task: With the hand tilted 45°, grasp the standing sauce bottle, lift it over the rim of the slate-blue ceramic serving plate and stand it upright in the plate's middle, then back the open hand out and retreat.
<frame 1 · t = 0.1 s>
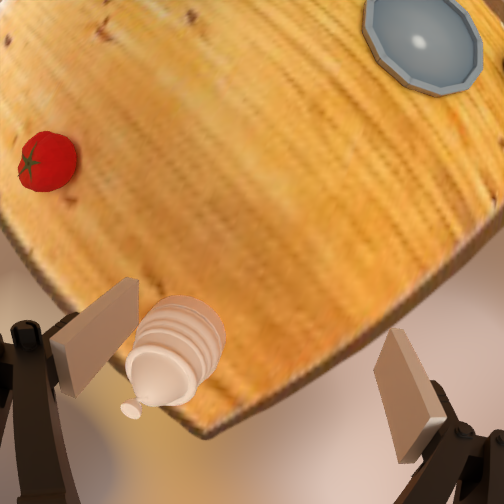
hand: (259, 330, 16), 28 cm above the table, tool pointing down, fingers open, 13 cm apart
honey pot: (186, 331, 49), on the table
serving plate: (424, 36, 32), on the table
tomato: (62, 161, 44), on the table
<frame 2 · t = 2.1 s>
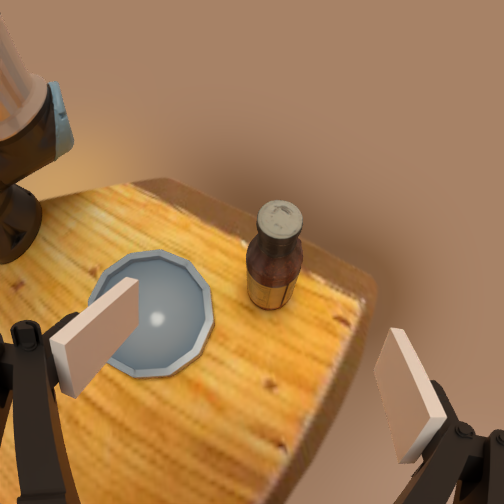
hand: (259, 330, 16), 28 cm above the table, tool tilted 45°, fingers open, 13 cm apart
sauce bottle: (268, 292, 46), on the table
serving plate: (150, 314, 44), on the table
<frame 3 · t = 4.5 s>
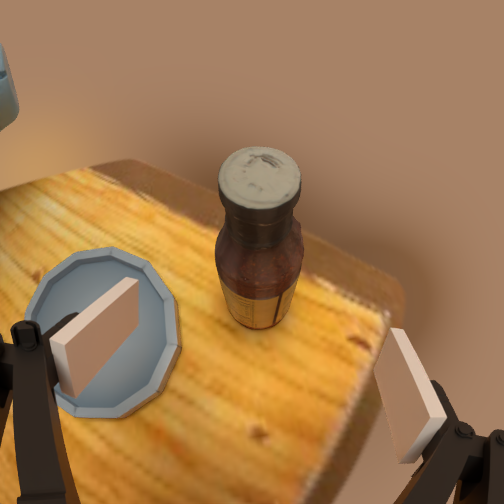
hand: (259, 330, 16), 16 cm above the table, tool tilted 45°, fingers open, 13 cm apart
sauce bottle: (256, 304, 33), on the table
serving plate: (98, 333, 31), on the table
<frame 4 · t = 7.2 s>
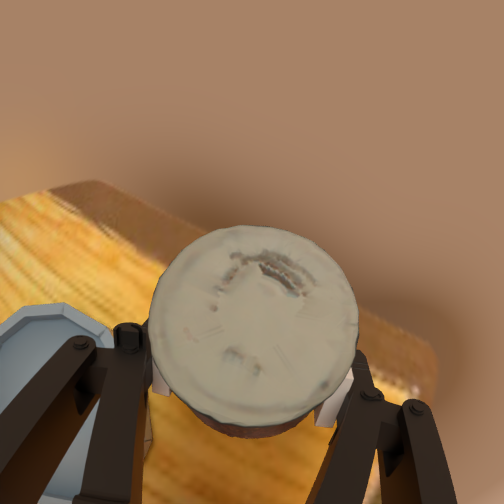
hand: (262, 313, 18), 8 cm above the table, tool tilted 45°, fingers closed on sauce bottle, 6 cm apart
sauce bottle: (248, 385, 24), on the table, touching gripper
serving plate: (54, 408, 21), on the table
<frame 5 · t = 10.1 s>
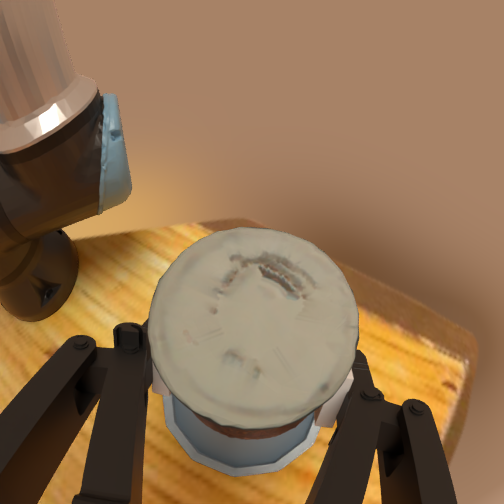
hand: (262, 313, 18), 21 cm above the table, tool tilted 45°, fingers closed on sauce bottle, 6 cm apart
sauce bottle: (248, 385, 24), point 13 cm above the table, touching gripper
serving plate: (244, 398, 34), on the table
when the fingers open (11 cm above the table, at t = 13.1 s): sauce bottle drops 1 cm, resting on serving plate.
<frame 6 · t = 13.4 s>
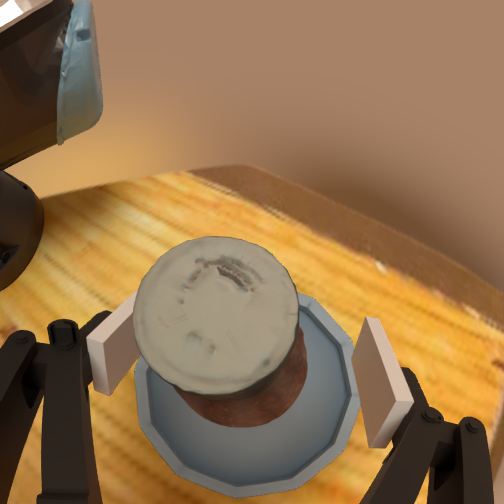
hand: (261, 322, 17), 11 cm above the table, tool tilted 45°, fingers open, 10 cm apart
sauce bottle: (250, 387, 25), point 1 cm above the table, touching serving plate
serving plate: (248, 389, 25), on the table
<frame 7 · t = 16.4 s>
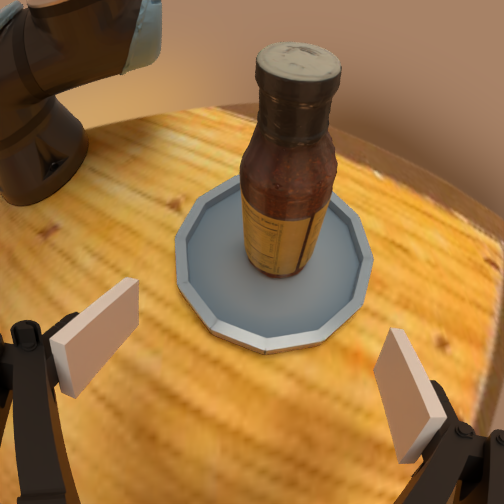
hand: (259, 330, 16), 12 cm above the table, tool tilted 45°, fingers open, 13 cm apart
sauce bottle: (275, 253, 31), point 1 cm above the table, touching serving plate
serving plate: (273, 257, 31), on the table
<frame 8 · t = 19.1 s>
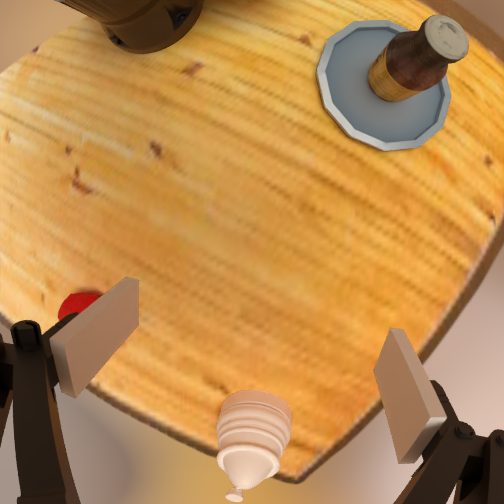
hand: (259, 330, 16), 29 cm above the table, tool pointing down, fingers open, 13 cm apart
honey pot: (256, 414, 54), on the table
sauce bottle: (386, 82, 35), point 1 cm above the table, touching serving plate
serving plate: (384, 84, 36), on the table
tomato: (97, 310, 52), on the table
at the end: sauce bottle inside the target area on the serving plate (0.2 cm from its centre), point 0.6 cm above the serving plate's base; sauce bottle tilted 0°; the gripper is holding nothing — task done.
